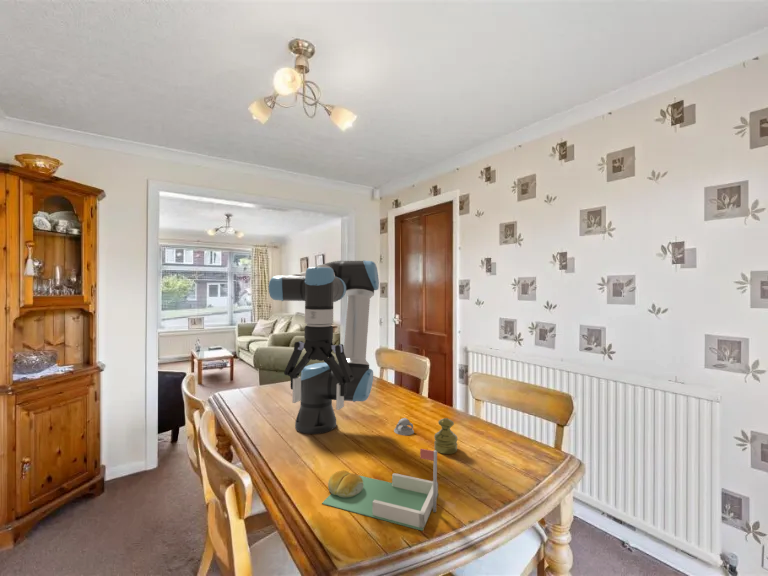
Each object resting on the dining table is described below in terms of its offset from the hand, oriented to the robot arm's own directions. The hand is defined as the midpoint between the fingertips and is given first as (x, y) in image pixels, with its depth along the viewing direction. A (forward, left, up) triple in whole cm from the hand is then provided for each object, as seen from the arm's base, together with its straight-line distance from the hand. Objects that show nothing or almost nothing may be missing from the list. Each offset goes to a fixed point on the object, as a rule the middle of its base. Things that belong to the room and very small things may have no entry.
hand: (317, 404), depth 96 cm
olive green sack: (+28, +33, -21) cm, 48 cm away
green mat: (+19, 0, -21) cm, 28 cm away
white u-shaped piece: (+26, 0, -21) cm, 33 cm away
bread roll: (+9, 0, -21) cm, 23 cm away
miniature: (+11, +42, -21) cm, 48 cm away
